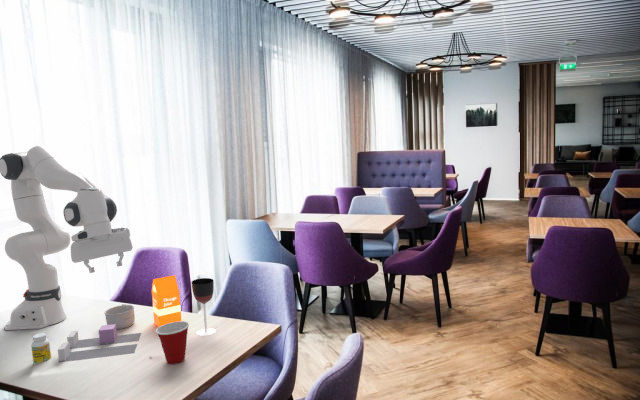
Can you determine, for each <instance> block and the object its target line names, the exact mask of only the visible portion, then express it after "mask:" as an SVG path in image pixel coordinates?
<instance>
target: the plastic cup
mask: <svg viewBox="0 0 640 400" xmlns="http://www.w3.org/2000/svg"><path fill="white" fill-rule="evenodd" d="M189 326H190V323H189V322H188V321H183V320H181V321H177V322H171V323H168V324H165V325H162V326H160V327H157V328H156V329H155V333H156V334H157V336H158V338H159V341H160V345H161V348H162V351H163V354H164V357H165V361H166V363H167V364H169V365H177V364H181V363H183V362H184V361H185V358H186V352H187V341H188V340H187V338H188V337H187V336H188V330H189Z"/></svg>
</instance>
